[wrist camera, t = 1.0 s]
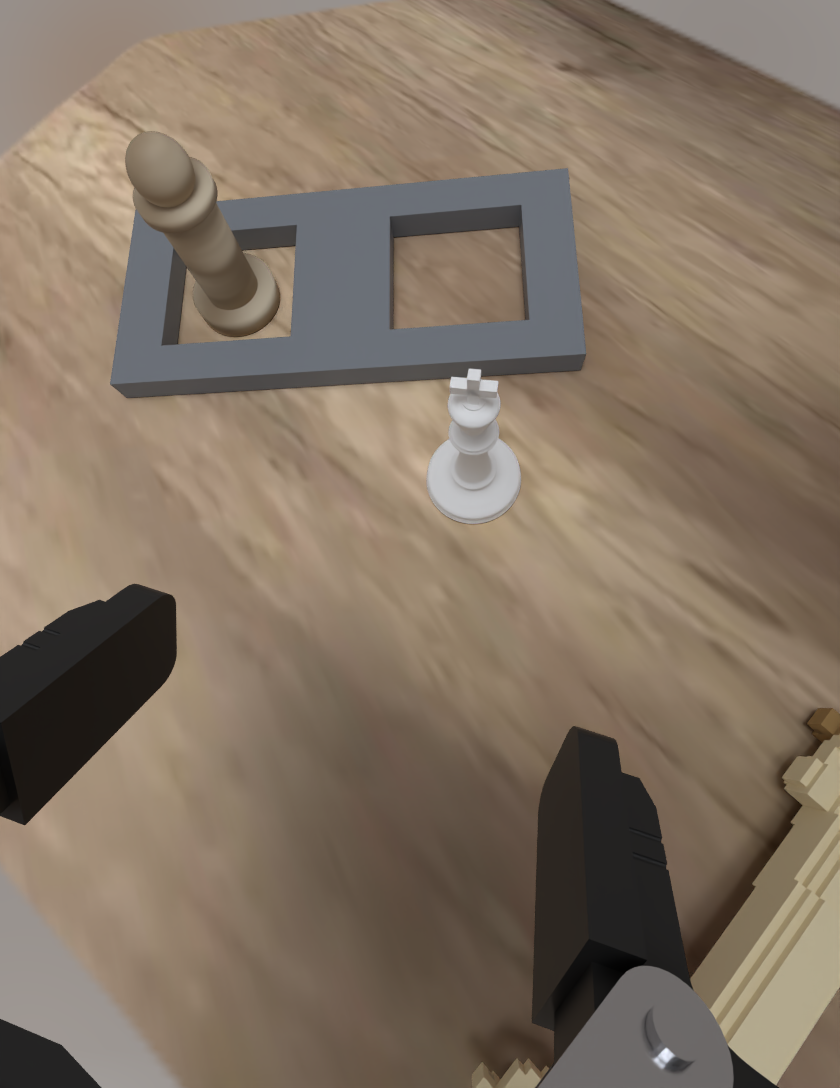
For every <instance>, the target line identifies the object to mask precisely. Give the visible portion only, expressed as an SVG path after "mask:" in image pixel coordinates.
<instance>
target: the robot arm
mask: <svg viewBox="0 0 840 1088" xmlns="http://www.w3.org/2000/svg"><path fill="white" fill-rule="evenodd" d="M176 654H177V644H176V602H175V599H174V597H173V596H172V595H170V594H167V593H164V592H161V591H158V590H154V589H151V588H148V587H145V586H142V585H139V584H132V585H129V586H127V587H126V588H124V589H123V590H121V591H120V592H119V593H117V594H116V595H114V596H113V597H112V598H110V599H109V600H107V601H106V602H104V601H101V600H98V601H95V602H92V603H89V604H87V605H84V606H81V607H78V608H76V609H73V610H70V611H68V612H67V613H65V614H64V615H62V616H61V617H59V618H58V619H56V620H55V621H53V622H52V623H50V624H49V625H47V626H46V627H44V630H43V631H42V632H41V631H38V632H37V633H35V634H34V635H32V636H31V637H29V638H28V639H26V640H25V641H24V643H23V644H22V645H21V646H20V645H17V646H16V647H14V648H13V649H11V650H10V651H8V652H7V653H5V654H4V655H2V656H1V657H0V816H2V817H4V818H7V819H10V820H12V821H15V822H17V823H20V824H23V825H26V824H27V823H28V822H29V821H30V820H31V819H32V818H33V817H34V816H35V815H36V814H37V813H38V812H39V811H40V810H41V808H42V807H43V806H44V805H45V804H46V803H47V802H48V801H49V800H50V799H51V798H52V797H53V796H54V795H55V794H56V793H57V792H58V791H59V790H60V789H61V788H62V787H63V786H64V785H65V784H66V783H67V782H68V781H69V780H70V779H71V778H72V777H73V776H74V775H75V774H76V773H77V772H78V771H79V770H80V769H81V768H82V767H83V766H84V765H85V764H86V763H87V762H88V761H89V760H90V759H91V758H92V756H93V755H94V754H95V753H96V752H97V751H98V750H99V749H100V748H101V747H102V746H103V745H104V744H105V743H106V742H107V741H108V740H109V739H110V738H111V737H112V736H113V735H114V734H115V733H116V732H117V731H118V730H119V729H120V728H121V727H122V726H123V725H124V724H125V723H126V722H127V721H128V720H129V719H130V718H131V717H132V716H133V715H134V714H135V713H136V712H137V711H138V710H139V709H140V708H141V707H142V706H143V704H144V703H145V702H146V701H147V700H148V699H149V698H150V697H151V696H152V695H153V694H154V693H155V692H156V691H157V690H158V689H159V688H160V687H161V686H162V685H163V684H164V683H165V681H166V680H167V679H168V677H169V675H170V674H171V672H172V669H173V667H174V664H175V661H176ZM661 839H662V835H661V830H660V825H659V820H658V814H657V809H656V807H655V805H654V803H653V801H652V800H651V798H650V796H649V794H648V793H647V791H646V789H645V787H644V786H643V784H642V782H641V780H640V779H639V778H637V777H634V776H631V775H628V774H625V773H622V772H621V765H620V758H619V751H618V745H617V742H616V740H615V739H614V738H611V737H607V736H604V735H601V734H598V733H595V732H592V731H589V730H586V729H583V728H579V727H576V726H573V727H572V728H571V729H570V730H569V732H568V734H567V736H566V738H565V740H564V742H563V744H562V747H561V749H560V751H559V753H558V755H557V757H556V759H555V761H554V763H553V765H552V767H551V770H550V772H549V774H548V776H547V778H546V780H545V783H544V786H543V789H542V793H541V798H540V803H539V811H538V837H537V870H536V902H535V935H534V968H533V1000H532V1023H534V1024H537V1025H539V1026H542V1027H544V1028H547V1029H550V1030H552V1031H554V1063H553V1065H552V1066H551V1067H550V1068H549V1070H548V1071H547V1072H546V1074H545V1075H544V1076H543V1078H542V1079H541V1080H540V1082H539V1083H538V1084H537V1086H536V1087H535V1088H779V1087H777V1086H776V1085H775V1084H773V1083H772V1082H771V1081H769V1080H768V1079H767V1078H765V1077H764V1076H763V1075H761V1074H760V1073H759V1072H757V1071H756V1070H755V1069H753V1068H752V1067H751V1066H750V1065H748V1064H747V1063H746V1062H745V1061H744V1060H742V1059H741V1058H740V1057H739V1056H738V1055H737V1054H736V1053H735V1052H734V1051H733V1050H732V1049H731V1048H730V1047H729V1046H728V1045H727V1042H726V1039H725V1037H724V1035H723V1033H722V1030H721V1028H720V1026H719V1024H718V1023H717V1021H716V1019H715V1017H714V1016H713V1014H712V1013H711V1011H710V1010H709V1008H708V1007H707V1005H706V1004H705V1003H704V1002H703V1000H702V999H701V998H700V997H699V996H698V995H697V993H696V992H694V990H693V987H692V984H691V981H690V977H689V973H688V968H687V963H686V958H685V953H684V948H683V943H682V938H681V933H680V927H679V922H678V917H677V912H676V907H675V902H674V897H673V891H672V886H671V881H670V876H669V871H668V870H666V865H667V861H666V856H665V850H664V845H663V844H661ZM0 1088H101V1087H100V1086H99V1085H98V1084H97V1082H96V1081H95V1080H94V1079H93V1078H92V1077H91V1076H90V1075H89V1074H88V1073H87V1072H86V1071H85V1070H84V1069H83V1068H82V1066H81V1065H79V1063H78V1062H77V1061H76V1060H75V1059H74V1058H73V1057H72V1056H71V1055H70V1054H69V1053H68V1051H67V1050H66V1049H65V1048H64V1047H63V1046H62V1045H60V1044H58V1043H55V1042H53V1041H51V1040H48V1039H46V1038H44V1037H41V1036H39V1035H37V1034H34V1033H32V1032H30V1031H27V1030H25V1029H23V1028H20V1027H18V1026H15V1025H13V1024H11V1023H9V1022H6V1021H4V1020H1V1019H0Z"/></svg>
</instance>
